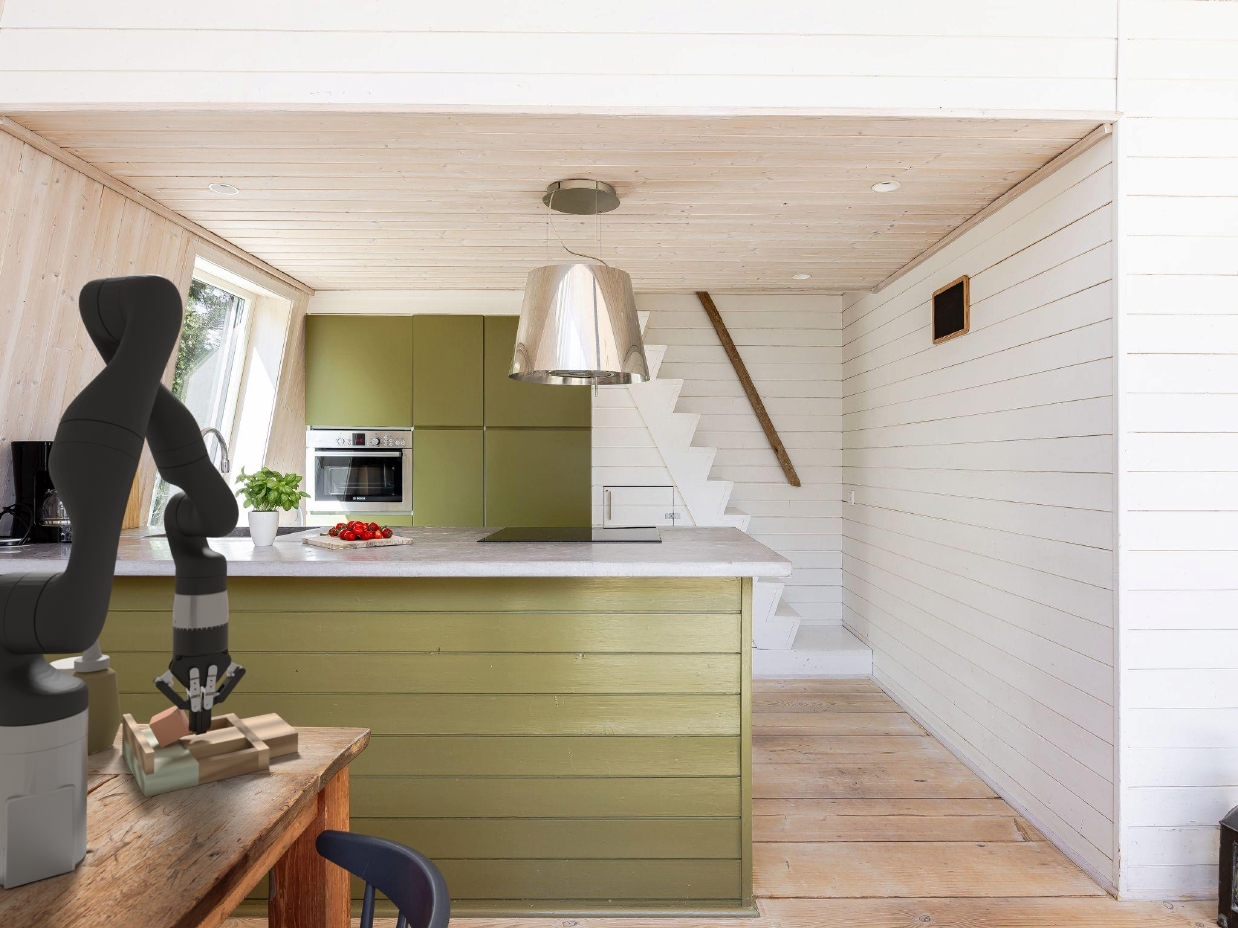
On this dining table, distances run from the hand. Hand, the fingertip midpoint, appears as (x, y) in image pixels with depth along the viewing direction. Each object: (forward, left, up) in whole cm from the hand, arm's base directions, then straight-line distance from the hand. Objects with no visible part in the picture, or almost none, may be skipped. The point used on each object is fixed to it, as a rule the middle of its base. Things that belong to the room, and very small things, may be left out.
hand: (200, 732), depth 118 cm
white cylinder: (+24, +13, -4) cm, 28 cm away
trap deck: (0, -2, -4) cm, 4 cm away
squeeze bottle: (+15, +12, -4) cm, 20 cm away
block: (+1, +3, 0) cm, 3 cm away
